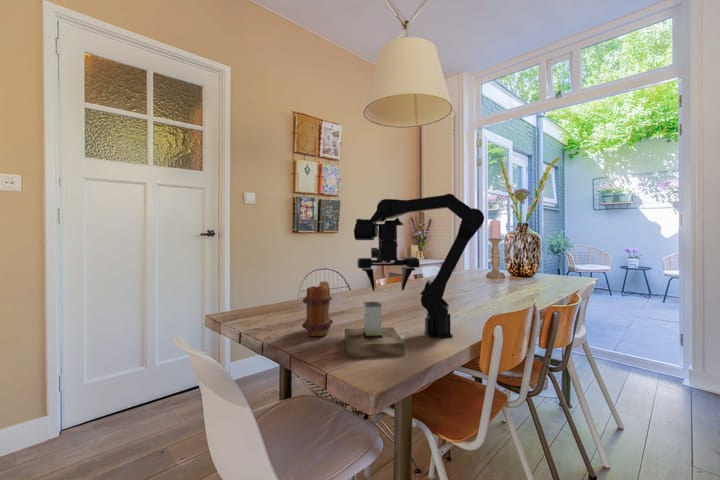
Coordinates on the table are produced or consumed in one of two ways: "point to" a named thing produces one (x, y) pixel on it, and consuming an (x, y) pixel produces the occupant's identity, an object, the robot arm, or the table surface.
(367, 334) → the column
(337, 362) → the table surface
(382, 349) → the stand block
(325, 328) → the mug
